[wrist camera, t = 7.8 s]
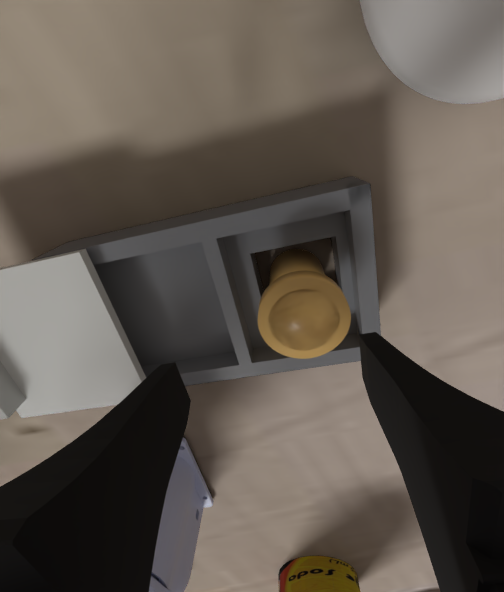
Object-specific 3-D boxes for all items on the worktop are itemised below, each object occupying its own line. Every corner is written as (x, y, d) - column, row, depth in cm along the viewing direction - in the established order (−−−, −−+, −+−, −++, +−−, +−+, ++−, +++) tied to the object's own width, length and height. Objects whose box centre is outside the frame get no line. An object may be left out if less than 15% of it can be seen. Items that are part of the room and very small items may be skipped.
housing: (366, 326, 22) (382, 357, 19) (128, 364, 25) (107, 396, 21) (353, 175, 18) (370, 183, 15) (68, 241, 20) (31, 259, 17)
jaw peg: (334, 297, 21) (355, 351, 16) (269, 309, 22) (268, 364, 16) (325, 234, 19) (345, 269, 14) (255, 249, 20) (248, 289, 15)
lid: (153, 393, 21) (140, 419, 19) (27, 411, 22) (3, 437, 20) (85, 248, 16) (59, 263, 14) (-64, 282, 18) (-106, 299, 16)
